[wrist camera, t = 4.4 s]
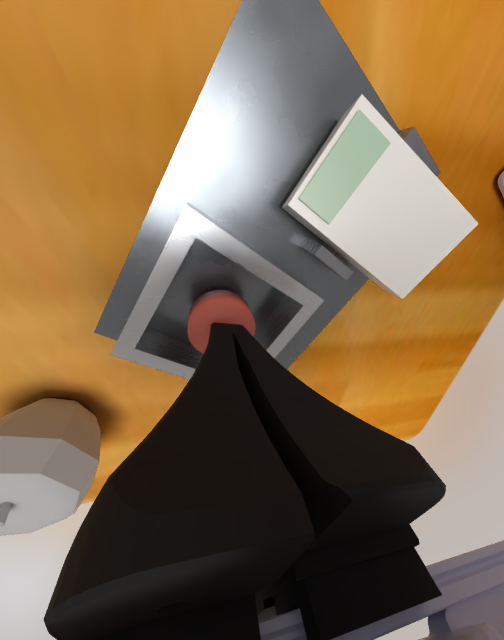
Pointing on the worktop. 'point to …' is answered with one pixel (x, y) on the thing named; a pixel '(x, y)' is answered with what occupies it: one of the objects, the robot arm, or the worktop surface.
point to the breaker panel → (246, 195)
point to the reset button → (217, 315)
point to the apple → (45, 463)
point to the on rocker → (378, 202)
